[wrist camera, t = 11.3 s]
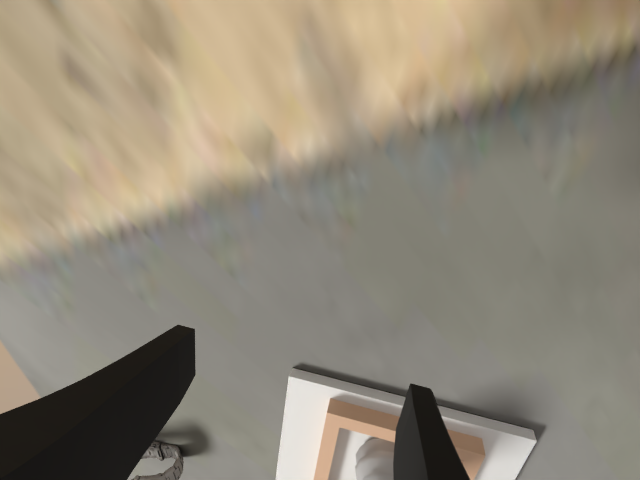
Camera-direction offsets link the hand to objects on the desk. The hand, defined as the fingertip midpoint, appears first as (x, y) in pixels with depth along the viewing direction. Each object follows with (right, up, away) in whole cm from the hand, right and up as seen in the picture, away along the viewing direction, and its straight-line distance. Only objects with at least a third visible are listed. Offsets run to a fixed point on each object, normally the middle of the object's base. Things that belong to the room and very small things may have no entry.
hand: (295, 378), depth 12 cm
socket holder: (+6, -11, +15) cm, 20 cm away
